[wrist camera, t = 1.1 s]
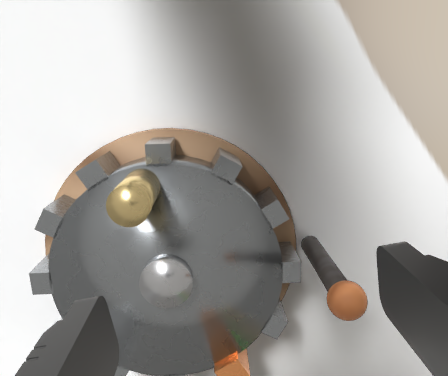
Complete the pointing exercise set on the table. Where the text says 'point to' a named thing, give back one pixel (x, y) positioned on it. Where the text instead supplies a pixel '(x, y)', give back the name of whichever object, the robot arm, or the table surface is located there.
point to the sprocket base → (256, 181)
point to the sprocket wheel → (171, 259)
